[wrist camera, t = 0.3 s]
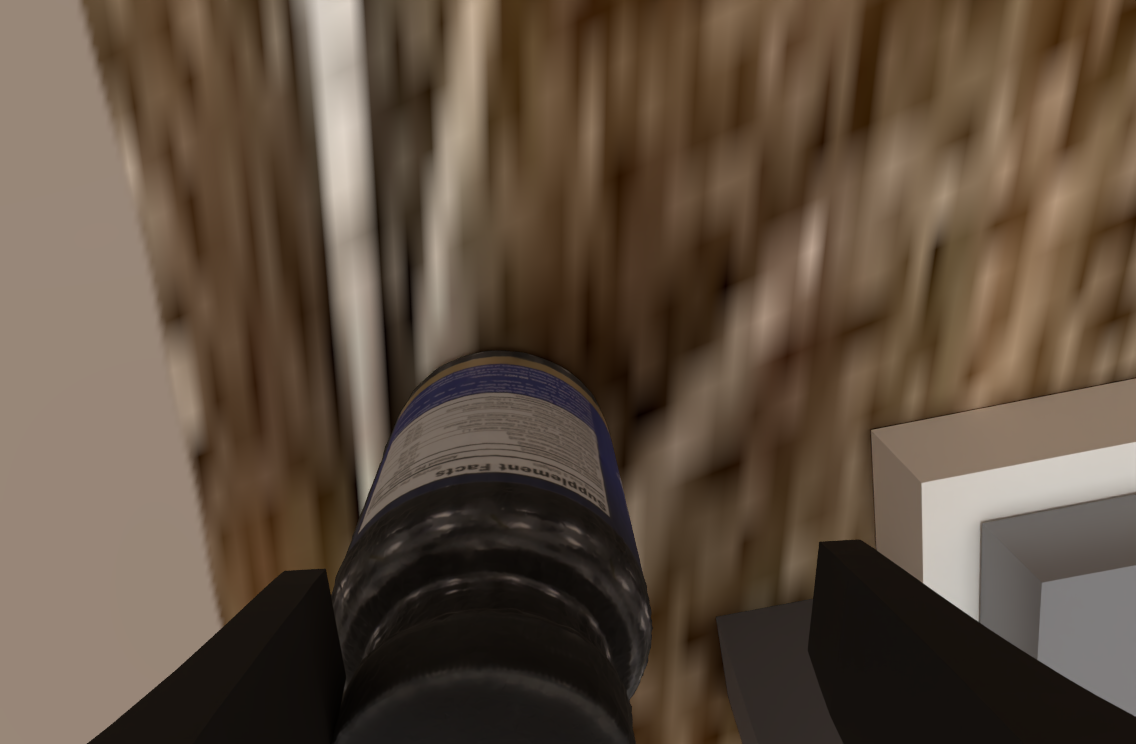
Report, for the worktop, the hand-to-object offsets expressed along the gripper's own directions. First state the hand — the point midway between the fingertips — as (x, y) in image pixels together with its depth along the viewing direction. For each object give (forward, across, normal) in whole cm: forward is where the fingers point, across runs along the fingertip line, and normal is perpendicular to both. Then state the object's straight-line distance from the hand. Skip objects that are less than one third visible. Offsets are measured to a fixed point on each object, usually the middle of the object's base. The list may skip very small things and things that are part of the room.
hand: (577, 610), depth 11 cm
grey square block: (+7, -14, +6) cm, 17 cm away
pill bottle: (+10, +2, +2) cm, 10 cm away
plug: (+10, -7, +10) cm, 16 cm away
